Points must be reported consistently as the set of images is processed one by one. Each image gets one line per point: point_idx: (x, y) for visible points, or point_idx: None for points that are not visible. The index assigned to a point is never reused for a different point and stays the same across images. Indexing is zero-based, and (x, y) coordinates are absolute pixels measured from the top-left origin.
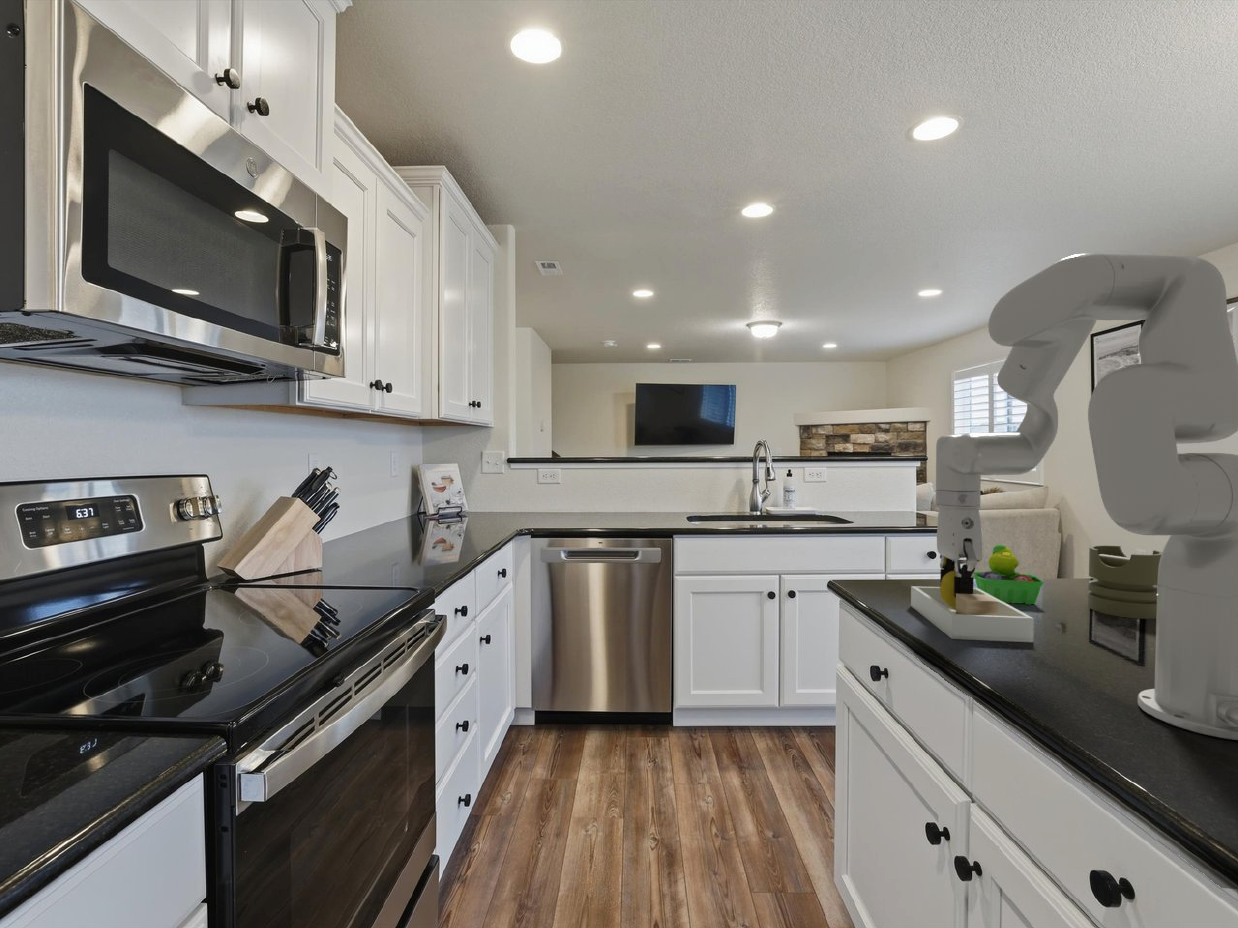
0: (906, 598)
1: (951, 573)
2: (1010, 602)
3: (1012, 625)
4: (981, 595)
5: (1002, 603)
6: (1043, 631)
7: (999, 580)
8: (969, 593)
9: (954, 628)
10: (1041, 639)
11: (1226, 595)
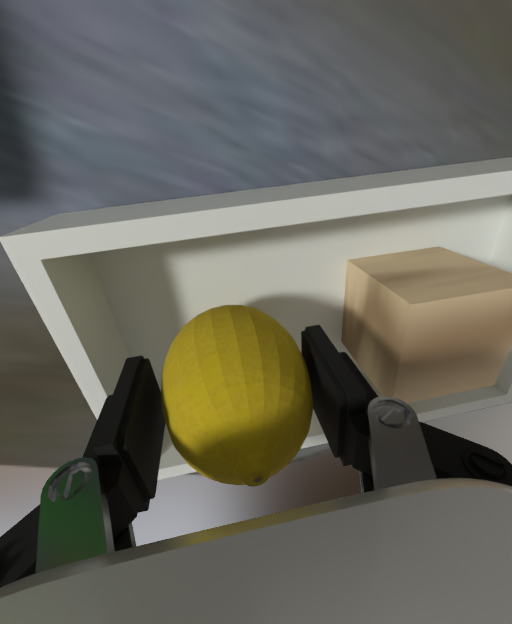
0: (30, 431)
1: (272, 475)
2: None
3: None
4: (427, 325)
5: (385, 207)
6: (412, 29)
7: None
8: (343, 352)
9: None
10: (504, 104)
11: None
